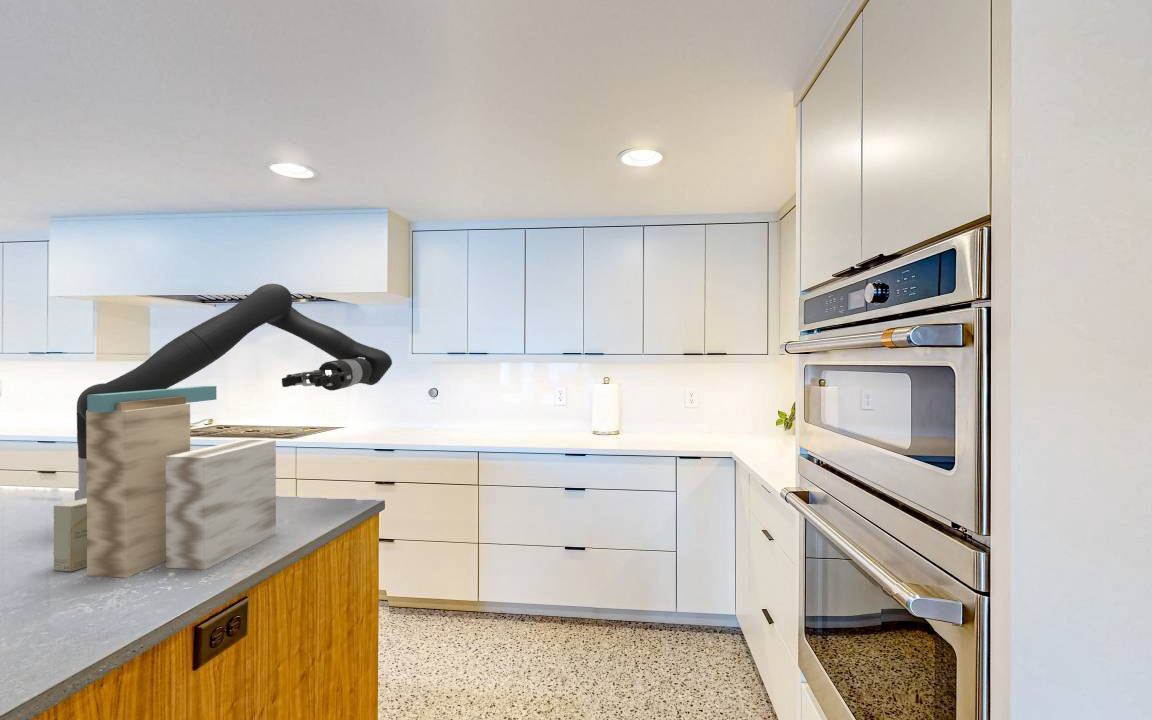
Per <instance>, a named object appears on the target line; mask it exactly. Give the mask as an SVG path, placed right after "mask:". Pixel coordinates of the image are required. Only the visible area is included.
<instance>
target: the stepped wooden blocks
mask: <svg viewBox="0 0 1152 720" xmlns="http://www.w3.org/2000/svg"><path fill="white" fill-rule="evenodd" d="M276 442H277V441H276V440H273V439H272V440H271V439H267V440H266V439H264V440H263V439H239V440H234V441H230V442H226V443H222V444H221V443H220V444H217V445H216V444H215V445H212V446H207V447H202V448H199V449H194V450H191V403H186V397H182V396H181V397H171V398H160V399H150V400H140V401H129V402H119V403H116V411H110V412H87V410H86V454H87V568H86V570H87V571H86V573H87V574H86V576H91V577H92V576H93V577H108V578H122V579H123V578H125V579H127V578H129V577H131V576H134V575H136V574H138V573H140V572H143V571H146V570H147V569H149V568H152V567H154V566H156V565H159V564H162V563H164V562H165V568H167V569H169V568H170V569H183V570H184V569H185V570H201V571H204V570H205V571H206V570H207V569H210V568H212V567H214V566H216V565H217V564H220V563H221V562H224V561H225V560H227V559H229V558H232V557H233V556H235V555H237V554H239V553H241V552H243V551H245V550H247V549H249V548H251V547H253V546H255V545H257V544H259V543H261V542H264V541H265V540H267V539H269V538H271V537H273V536H276V534H277V532H276V531H277V529H276V528H277V527H276V526H277V512H276V511H277V509H276V508H277V507H276V506H277V498H276V497H277V495H276V494H277V492H276V491H277V487H276V486H277V484H276V483H277V481H276V480H277V476H276V475H277V473H276V472H277V468H276V467H277V466H276V465H277V463H276V462H277V459H276V458H277V457H276V456H277V455H276V454H277V453H276V452H277V449H276V448H277V443H276Z"/></svg>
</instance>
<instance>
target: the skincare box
mask: <svg viewBox="0 0 1152 720" xmlns="http://www.w3.org/2000/svg"><path fill="white" fill-rule="evenodd" d="M86 567H87V498H84V499H80V500H76V501H75V500H71V501H68V502H64V503H59V504H55V505H53V570H54V571H61V572H75V571H78V570H81V569H83V568H86Z"/></svg>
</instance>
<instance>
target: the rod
mask: <svg viewBox="0 0 1152 720" xmlns="http://www.w3.org/2000/svg"><path fill="white" fill-rule="evenodd" d="M181 396H182V397H186V404H191V403H197V402H207V401H214V400H217V385H202V386H201V385H200V386H199V385H198V386H188V387H187V386H186V387H175V388H174V387H173V388H172V387H170V388H167V389H158V390H145V391H133V392H120V393H107V394H94V395H87V412H110V411H116V403H119V402H129V401H140V400H150V399H160V398H171V397H181Z"/></svg>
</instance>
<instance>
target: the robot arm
mask: <svg viewBox="0 0 1152 720" xmlns="http://www.w3.org/2000/svg"><path fill="white" fill-rule="evenodd" d="M264 324H268V325H270V326H273V327H276V328H278V329H280V330H282V331H285V332H286V333H289V334H292V335H294V336H296V337H298V338H300V339H302V340H304V341H306V342H307V343H309V344H311V345H313V346H314V347H316V348H317V349H320V350H321V351H322V352H325V353H327V355H330V356H331V357H332V358H335V359H336V360H331V361H326V362H324V363H322V364H321V365H320V367H319V368H318V369H314V370H312V371H311V370H310V371H302V372H297V373H291V374H286V377H282V379H281V387H283V388H288V387H292V386H293V387H296V386H303V387H312V386H314V387H318V388H319V387H322V388H324V389H325V390H327V391H331V392H333V391H338V390H342V389H345V388H348V387H352V386H354V385H358V384H363V385H366V386H367V385H368V386H374V385H376V384H378V383H379V382H380V380H381V379H382V378H383V377H384V376H385V375H386V373H387V372H388V371H389V369H390V368H391V367H392V365H393V361H392V358H391V356H390V355H389V354H388V353H387V352H386V351H384V350H381V349H379V348H375V347H371V346H369V345H367V344H366V345H365V344H363V343H360V342H357V341H356V340H355V339H353V338H352V337H350V336H348V335H346V334H345V333H343V332H342V331H340V330H337V329H336V328H333V327H331V326H329V325H326V324H323V323H321V322H318V321H316V320H313V319H311V318H309V317H307V316H306V315H304V314H303V313H301V312H300V311H298V310H297V309H296V308H294V307H293V296H292V293H291V291H290V290H289V289H288V288H287V287H286V286H283V285H281V284H279V283H268V284H264V285H261V286H259V287H258V288H256V289H255V290H254V291H253V292H251V293H250V294H248V296H246V297H245V298H243V299H242V300H241V301H239V302H238V303H236V304H235V305H233V306H232V307H231V308H229V309H227V310H226V311H223V312H221V313H218V314H217V315H214V316H213V317H211V318H209V319H207V320H205V321H204V322H202V323H200V324H198V325H196V326H194V327H192V328H191V329H189V330H186V331H185V332H183V333H182V334H180V335H179V336H177V337H175V338H174V339H172V340H171V341H168V342H167V343H166V344H164V346H162V347H161V348H159V349H158V350H157V351H155V353H154V354H152V355H151V356H149V358H147V359H146V360H145V361H144V362H143V363H141V364H140V365H139V366H137V367H135V368H133V369H132V370H130V371H129V372H126V373H124V374H122V375H120V376H118V377H116V378H114V379H112V380H110V381H107V382H105V383H97V384H93V385H91V386H89V387H87V388H85V389H84V390H83V391H82V392H81V393H80V395H79V396H78V398H77V402H76V442H77V458H78V461H77V462H78V463H77V465H78V467H77V469H78V471H77V472H78V474H77V475H78V490H75V491H74V501H76V500H80V499H84V498H87V454H86V410H87V395H94V394H107V393H120V392H133V391H145V390H158V389H170V388H172V386H175V385H177V384H178V383H181V382H182V381H184V380H186V379H188V378H189V377H191V376H193V375H195V374H197V372H200V371H201V370H203V369H204V368H206V367H208V366H209V365H212V364H213V363H214V362H216V361H217V360H219V359H220V358H221V357H223V356H224V355H225V354H227V352H229V351H230V350H232V349H233V348H234V347H235V346H236V345H237V344H238V343H240V341H241V340H243V339H244V338H245V337H246V336H247V335H248V334H250V333H251V332H252V331H254V330H256V329H257V328H258V327H261V326H263V325H264ZM307 380H308V382H309V383H307Z"/></svg>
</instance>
